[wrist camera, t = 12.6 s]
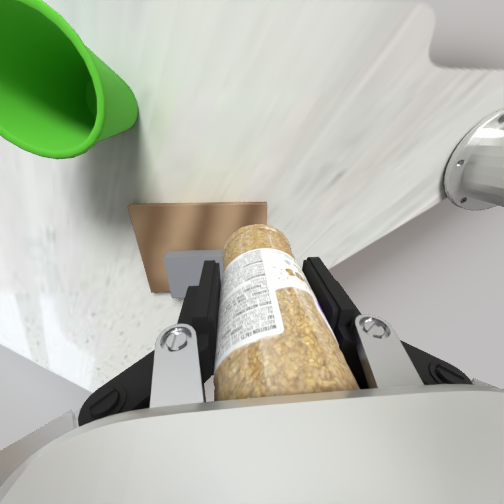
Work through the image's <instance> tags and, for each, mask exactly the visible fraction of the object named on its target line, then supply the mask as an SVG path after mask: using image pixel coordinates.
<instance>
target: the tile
mask: <svg viewBox="0 0 504 504" xmlns="http://www.w3.org/2000/svg"><path fill="white" fill-rule="evenodd" d="M222 254H223V250H183V251H167V252H166V254H165V255H164V257H163V260H164V265H165V269H166V273H167V278H168V282H169V287H170V291H171V296H172V298H185V295H186V292H187V288H188V286H199V282H200V277H201V273H202V268H203V264H204V261H205V260H215V262H216V263H219V264H220V278H221V280H222V276H223V268H224V265H223V259H222Z"/></svg>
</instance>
